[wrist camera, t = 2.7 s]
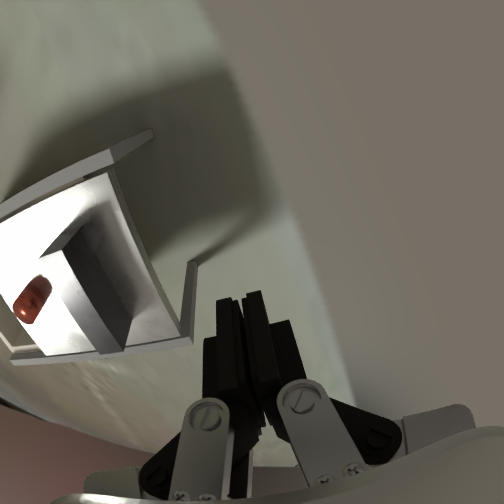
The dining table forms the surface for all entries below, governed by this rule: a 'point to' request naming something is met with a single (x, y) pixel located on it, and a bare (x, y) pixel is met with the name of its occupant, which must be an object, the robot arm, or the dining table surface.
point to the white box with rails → (3, 319)
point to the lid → (82, 272)
